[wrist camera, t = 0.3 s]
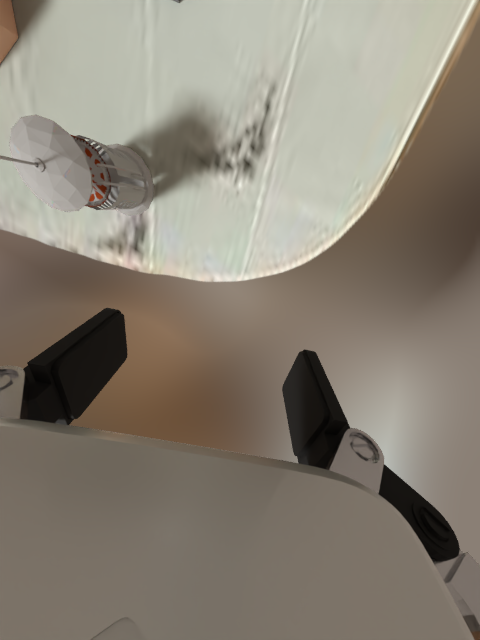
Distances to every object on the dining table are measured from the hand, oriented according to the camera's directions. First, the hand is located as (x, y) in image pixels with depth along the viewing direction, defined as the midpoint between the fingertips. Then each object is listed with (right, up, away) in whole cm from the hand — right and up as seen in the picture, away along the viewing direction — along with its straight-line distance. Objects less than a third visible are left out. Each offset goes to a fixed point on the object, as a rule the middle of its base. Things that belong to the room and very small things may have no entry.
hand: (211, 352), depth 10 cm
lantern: (-17, +25, +22) cm, 37 cm away
